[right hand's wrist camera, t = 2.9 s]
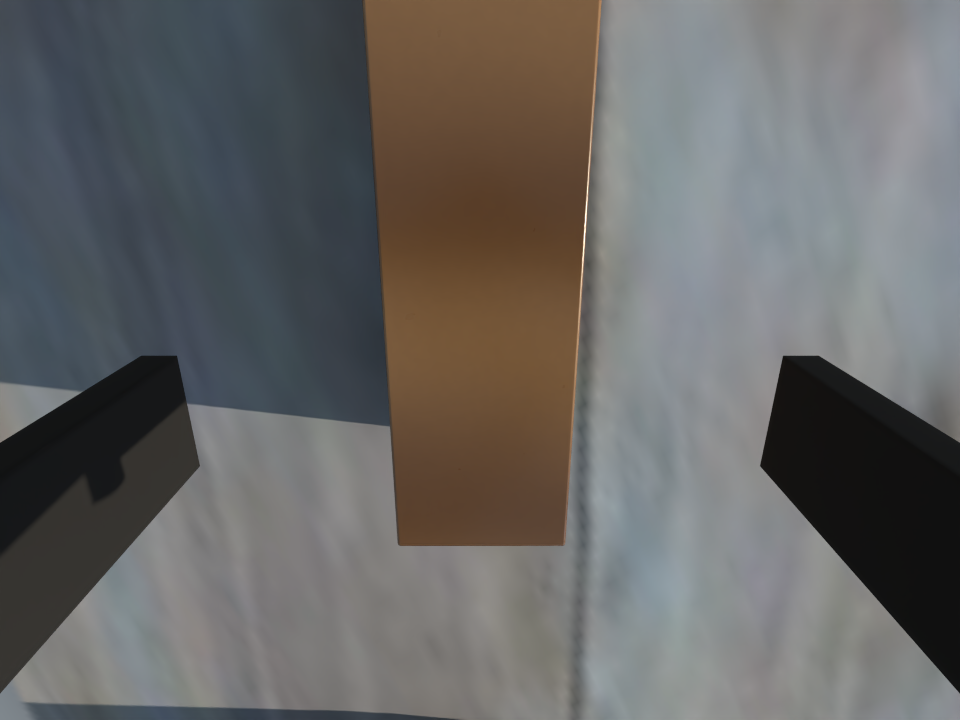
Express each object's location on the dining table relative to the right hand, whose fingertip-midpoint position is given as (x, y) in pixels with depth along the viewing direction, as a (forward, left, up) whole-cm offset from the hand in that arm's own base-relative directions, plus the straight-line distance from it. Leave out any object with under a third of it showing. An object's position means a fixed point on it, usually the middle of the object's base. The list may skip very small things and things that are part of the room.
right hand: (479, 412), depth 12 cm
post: (+17, +29, -12) cm, 36 cm away
